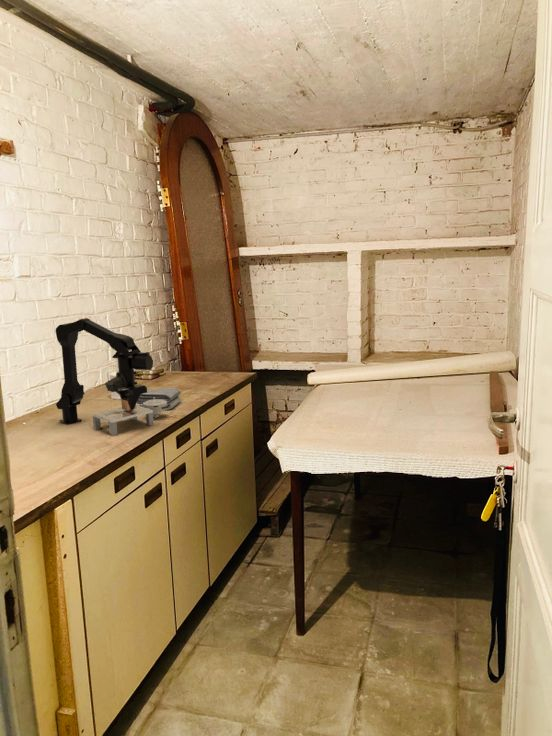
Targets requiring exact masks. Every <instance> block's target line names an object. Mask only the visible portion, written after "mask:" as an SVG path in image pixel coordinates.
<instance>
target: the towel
mask: <svg viewBox="0 0 552 736" xmlns="http://www.w3.org/2000/svg"><path fill="white" fill-rule="evenodd" d="M181 393H182V392H181V390H180V389H179V388H176V387H164V388H163V387H162V388H153V389H148V388H147V393H143V394H140V396H139V398H138V400H137V403H136V405H138V406H141V407H143V403H144V402H145V401H148V400H154V398H155V399H161V400H162V399H163V400H166V401H167V405H166V406H164V407H161V410H163V411H164V410H165V411H169V410H171V409H173V408H174V407H175V406H176V405H178V404H179V403H180V402H181V401H182V399H181V397H180V395H181ZM144 408H145V407H144ZM148 409H149V408H148Z"/></svg>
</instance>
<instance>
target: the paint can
mask: <svg viewBox="0 0 552 736" xmlns="http://www.w3.org/2000/svg"><path fill="white" fill-rule="evenodd" d="M114 359H115V366H114V368H112V369H110V370H108V371H107V372H106V377H107V378H106V379H107V382H108V381H109V380H111V379H113V378H115V377H116V373H117V372H119V369H118V358H114ZM114 370H115V371H114ZM111 371H113V372H111ZM110 393H111V394H110V395H111V396H110V398H111V399H113V400H121V397H120V395H119V394H118V393H116V392H111V391H110Z"/></svg>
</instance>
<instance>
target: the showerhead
mask: <svg viewBox="0 0 552 736" xmlns="http://www.w3.org/2000/svg"><path fill="white" fill-rule="evenodd" d="M166 405H167V401H166V400H163V399H162V400H161V399H155V398H154V400H148V401H145V402H144V403H143V407H145V408H149V409H151V410H153V417H155V418H154V419H157V417H158V418H159V416H160V415H159V414H161V413H162V410H161V407H164V406H166Z"/></svg>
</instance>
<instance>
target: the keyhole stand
mask: <svg viewBox="0 0 552 736" xmlns="http://www.w3.org/2000/svg"><path fill="white" fill-rule="evenodd" d="M136 408H137V409H133V410H132V411H128V412H127V410H124V409H122V406H120V407H115V408H110V409H107V410H102V411H99V412H94V413H92V422H93V423H92V425H93V429H94V428H95V429H94V430H96V429H97V430H100V429H99V428H101V429H102V423H101V420H102V421H105V422H108V428H109V429H108V430H109V431H108V432H109V435H110V436H111V435H112V437H113V435H114V436H117V435H118V424H117V423H118V422H120V421H125V420H130V419H129V418H132V419H131V420H130V421H136V420H135V419H137V420H138V417H140V416H144V415H145V420H146V426H148V425H151V426H154V425H155V422H154V421H155V420H154V419H155V418H153V410H151V409H148V408H144V407H141V406H138V405H136ZM112 415H113V416H112ZM133 417H136V418H133ZM153 424H154V425H153Z"/></svg>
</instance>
